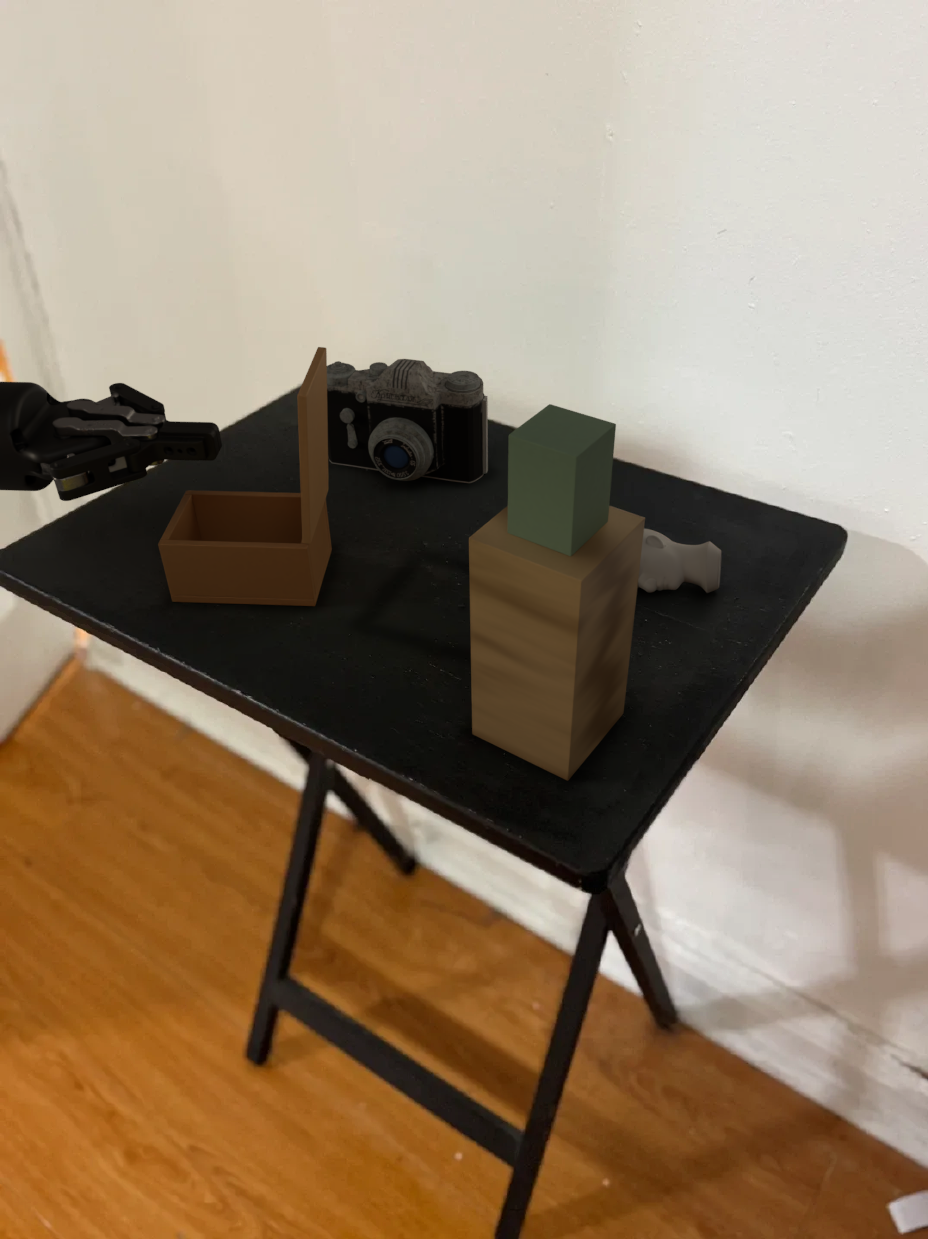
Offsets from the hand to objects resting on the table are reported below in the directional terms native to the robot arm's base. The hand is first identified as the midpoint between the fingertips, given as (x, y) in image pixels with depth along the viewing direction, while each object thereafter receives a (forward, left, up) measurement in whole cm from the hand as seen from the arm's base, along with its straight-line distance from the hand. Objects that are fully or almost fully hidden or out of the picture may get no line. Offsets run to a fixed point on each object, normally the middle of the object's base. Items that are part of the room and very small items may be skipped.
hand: (217, 441), depth 71 cm
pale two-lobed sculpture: (+29, -13, -12) cm, 34 cm away
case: (+1, 0, -11) cm, 12 cm away
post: (+15, -23, -11) cm, 30 cm away
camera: (+16, +10, -12) cm, 22 cm away
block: (+15, -23, +4) cm, 28 cm away
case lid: (+6, -3, 0) cm, 6 cm away
